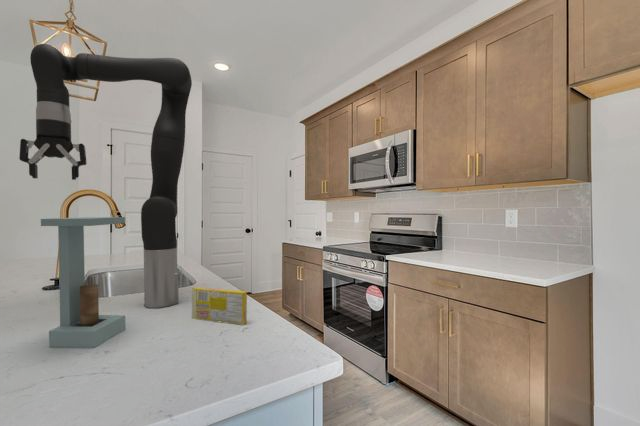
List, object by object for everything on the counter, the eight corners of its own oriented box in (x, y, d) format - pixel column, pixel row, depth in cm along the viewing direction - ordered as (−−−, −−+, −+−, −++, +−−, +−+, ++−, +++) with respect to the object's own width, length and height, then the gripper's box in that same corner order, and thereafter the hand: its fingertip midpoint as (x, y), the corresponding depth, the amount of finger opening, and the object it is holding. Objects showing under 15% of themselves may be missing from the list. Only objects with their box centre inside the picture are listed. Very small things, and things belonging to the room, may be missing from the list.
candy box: (247, 322, 81) (247, 290, 81) (243, 325, 79) (242, 293, 79) (196, 316, 86) (196, 286, 86) (191, 318, 84) (190, 288, 84)
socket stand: (126, 328, 77) (124, 217, 77) (92, 348, 66) (90, 218, 66) (84, 328, 78) (82, 217, 77) (43, 348, 67) (40, 218, 66)
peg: (99, 333, 74) (98, 283, 74) (98, 339, 71) (97, 286, 71) (81, 336, 72) (81, 285, 72) (79, 342, 70) (78, 288, 69)
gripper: (15, 114, 81) (16, 176, 82) (83, 121, 89) (84, 178, 89) (24, 121, 88) (25, 179, 88) (86, 127, 95) (88, 181, 95)
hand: (55, 178), depth 89 cm, fingers open, 8 cm apart
